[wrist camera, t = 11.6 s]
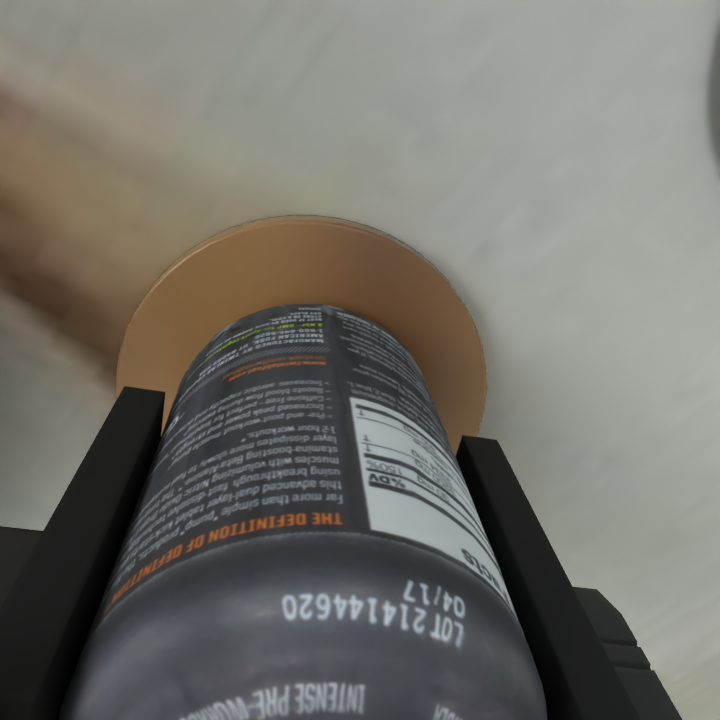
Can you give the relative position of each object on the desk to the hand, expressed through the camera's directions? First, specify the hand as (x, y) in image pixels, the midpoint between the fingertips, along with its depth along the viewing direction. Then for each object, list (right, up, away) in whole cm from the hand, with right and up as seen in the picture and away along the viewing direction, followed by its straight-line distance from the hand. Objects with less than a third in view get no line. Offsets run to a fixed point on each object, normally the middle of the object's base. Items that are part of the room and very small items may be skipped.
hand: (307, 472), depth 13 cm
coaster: (0, +1, +3) cm, 3 cm away
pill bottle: (0, +1, +2) cm, 3 cm away
